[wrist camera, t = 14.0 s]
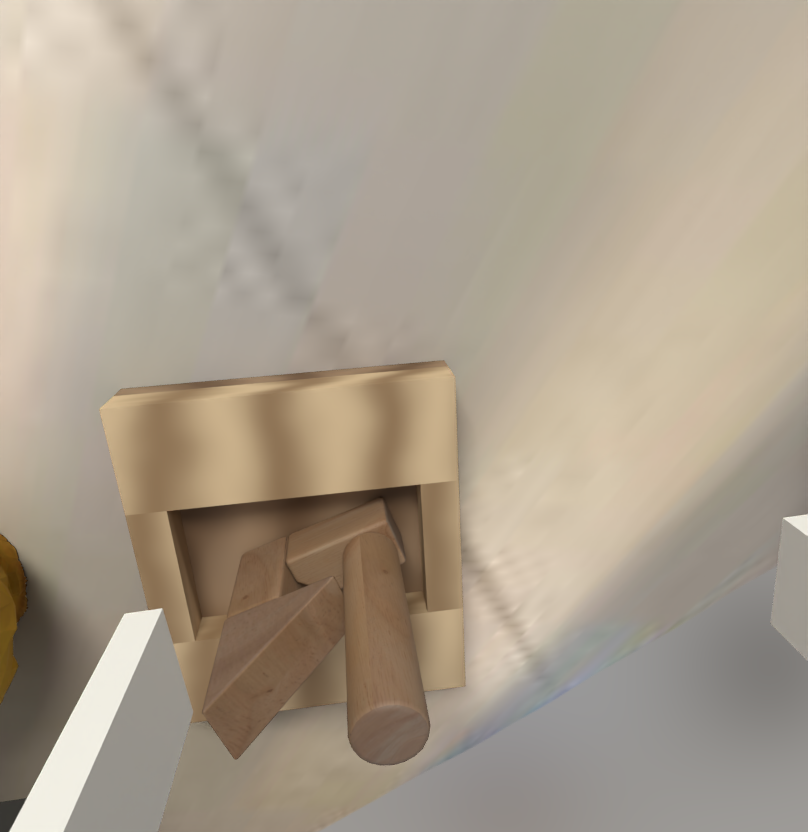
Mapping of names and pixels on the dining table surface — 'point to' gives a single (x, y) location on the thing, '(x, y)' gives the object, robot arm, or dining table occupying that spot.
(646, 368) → the dining table surface
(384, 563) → the wooden block
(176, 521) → the wooden tray
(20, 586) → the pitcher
